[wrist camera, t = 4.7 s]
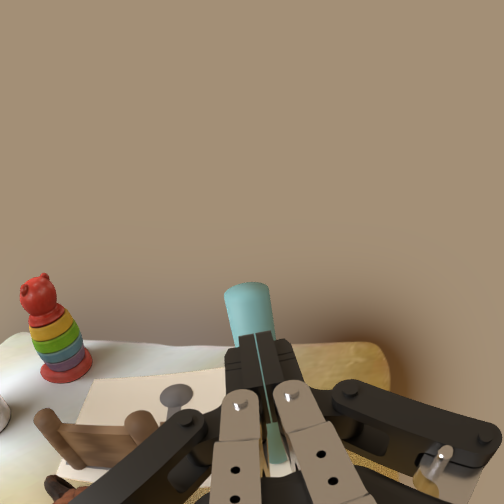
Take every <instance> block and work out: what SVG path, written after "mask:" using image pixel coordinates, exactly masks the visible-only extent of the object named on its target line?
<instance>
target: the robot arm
mask: <svg viewBox="0 0 504 504" xmlns="http://www.w3.org/2000/svg"><path fill="white" fill-rule="evenodd" d="M255 335H256V340H257V345H258V351H259V356H260V361H261V366H262V372H263V377H264V382H265V387H266V392H267V397H268V402H269V407H270V412H271V417H272V422H273V423H275V422H278V427H279V432H280V437H281V440H282V443H283V446H284V449H285V452H286V455H287V458H288V461H289V464H290V467H291V471H292V473H291V474H288V475H286V476H283V477H271V476H270V465H269V451H268V439H267V434H268V431H267V426H266V424H270V423H271V421H270V415H269V410H268V405H267V400H266V395H265V389H264V384H263V379H262V374H261V368H260V363H259V358H258V353H257V348H256V342H255V337H254V333H253V334H247V335H242V336H238V339H239V347H236V348H230V349H228V351H227V353H226V354H225V356H224V358H225V385H226V396H225V397H224V399H223V401H222V404H221V405H220V406H219V407H218V408H216V409H214V410H212V411H210V412H207V413H204V414H202V413H201V412H200V411H198V410H195V409H183V410H180V411H178V412H176V413H175V414H173V415H172V416H171V417H170V418H169V419H168V420H167V421H166V422H165V423H163V424H162V425H161V426H160V427H159V428H158V429H157V430H156V431H154V432H153V433H152V434H151V435H150V436H149V437H148V438H147V439H145V440H144V441H143V442H142V443H141V444H140V445H139V446H137V447H136V448H135V449H134V450H133V451H132V452H130V453H129V454H128V455H127V456H126V457H124V458H123V459H122V460H121V461H120V462H118V463H117V464H116V465H115V466H114V467H112V468H111V469H110V470H109V471H108V472H106V473H105V474H104V475H103V476H101V477H100V478H99V479H98V480H96V481H95V482H94V483H93V484H91V485H90V486H89V487H88V488H86V489H85V490H84V491H82V492H81V493H80V494H79V495H77V496H76V497H75V498H73V499H72V500H71V501H70V502H69V503H68V504H183V503H184V502H185V501H186V500H187V499H188V498H189V497H190V496H191V495H192V494H193V493H194V492H195V491H196V490H197V489H198V488H199V487H200V486H201V485H202V484H203V483H204V481H205V480H206V479H207V478H208V477H209V476H210V475H211V486H210V492H209V493H207V494H205V495H204V496H202V497H201V498H200V499H199V500H197V501H196V502H195V503H194V504H468V502H469V499H470V497H471V495H472V493H473V491H474V488H475V486H476V484H477V481H478V479H479V477H480V474H481V472H482V470H483V468H484V467H485V465H486V464H487V463H488V462H489V460H490V459H491V458H492V456H493V455H494V454H495V452H496V451H497V449H498V448H499V446H500V444H501V442H502V434H501V431H500V430H499V428H498V427H497V426H495V425H494V424H492V423H488V422H485V421H481V420H477V419H474V418H470V417H467V416H463V415H460V414H456V413H453V412H449V411H446V410H443V409H440V408H436V407H433V406H430V405H427V404H424V403H421V402H418V401H415V400H412V399H409V398H406V397H403V396H400V395H397V394H394V393H392V392H389V391H386V390H383V389H381V388H378V387H375V386H372V385H370V384H367V383H364V382H362V381H359V380H354V379H349V380H344V381H341V382H339V383H338V384H336V385H335V386H334V388H333V390H318V389H314V388H311V387H310V386H308V385H307V384H306V383H305V382H304V379H303V377H302V374H301V371H300V368H299V365H298V362H297V360H296V357H295V354H294V351H293V348H292V346H291V344H290V343H289V342H288V341H287V340H285V339H279V340H273V336H272V333H271V330H269V331H263V332H258V333H255ZM10 413H11V412H10V408H9V407H8V405H7V404H6V402H5V401H4V399H3V398H2V396H1V395H0V432H1V431H2V430H3V429H4V428H5V426H6V425H7V423H8V421H9V419H10ZM345 449H348V450H350V451H352V452H354V453H356V454H358V455H360V456H362V457H365V458H367V459H369V460H371V461H374V462H376V463H378V464H381V465H383V466H385V467H388V468H390V469H393V470H395V471H398V472H400V473H403V474H405V475H408V476H410V477H413V484H414V486H415V488H416V489H417V490H416V489H413V488H411V487H409V486H406V485H404V484H402V483H400V482H397V481H395V480H393V479H391V478H388V477H386V476H384V475H382V474H380V473H378V472H376V471H374V470H371V469H369V468H366V467H363V466H358V465H353V463H352V461H351V459H350V458H349V456H348V454H347V452H346V450H345Z"/></svg>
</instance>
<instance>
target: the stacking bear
mask: <svg viewBox="0 0 504 504" xmlns="http://www.w3.org/2000/svg"><path fill="white" fill-rule="evenodd" d="M56 297H57V296H56V290H55V287H54V285H53V284H52V283H51V282H50V281H49V276H48V275H47V274H46V273H42V274H41V275H40V277H34V278H32V279H30V280H28V281H27V282H26V283H25V284H23V285H22V286H21V288H20V302H21V305H22V306H23V308H24V309H25V310H26V311H27V312H28V313H29V314H30V316H29V320H28V322H29V329H30V334H31V337H32V342H33V345H34V347H35V349H36V351H37V353H38V354H39V356H40V357H41V359H42V360H43V361H44V363H45V364H44V365H43V366H42V367H41V371H40V373H41V375H42V377H43V378H44V379H46V380H47V381H50V382H54V383H65V382H71V381H74V380H76V379H78V378H80V377H81V376H83V375H84V374H85V373H86V372H87V371H88V370H89V369H90V367H91V365H92V357H91V355H90V353H89V351H88V350H87V349H86V348H85V347H84V344H83V339H82V335H81V332H80V330H79V328H78V326H77V324H76V322H75V320H74V319H73V318H72V316H71V315H70V313H69V312H68V310H67V309H65V308H64V307H63V306H62V305H60V304H58V303H56V301H57V298H56Z"/></svg>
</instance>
